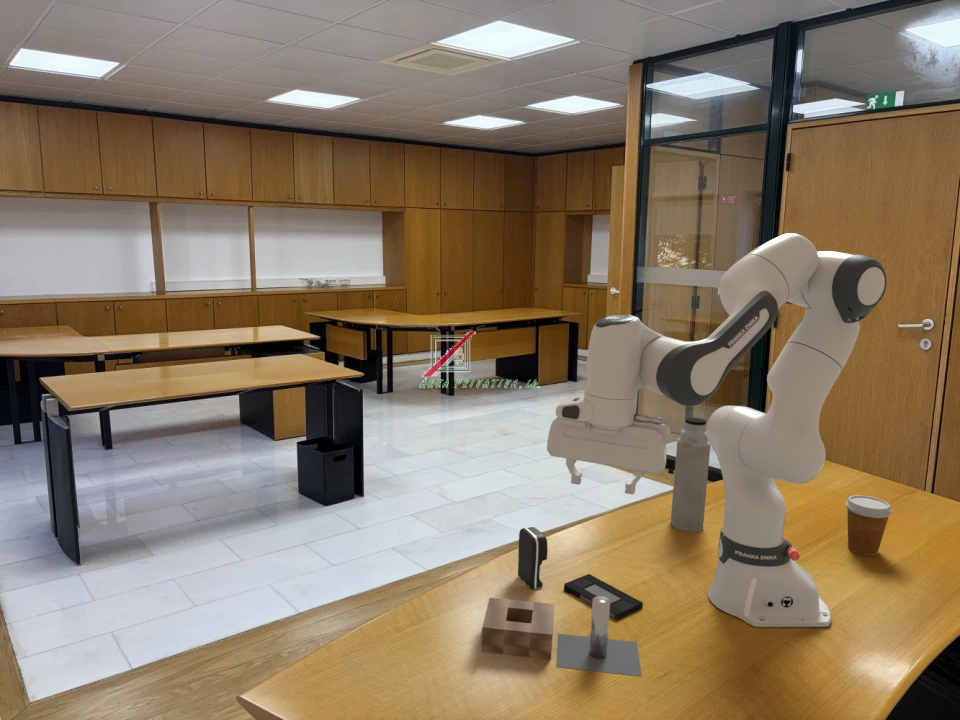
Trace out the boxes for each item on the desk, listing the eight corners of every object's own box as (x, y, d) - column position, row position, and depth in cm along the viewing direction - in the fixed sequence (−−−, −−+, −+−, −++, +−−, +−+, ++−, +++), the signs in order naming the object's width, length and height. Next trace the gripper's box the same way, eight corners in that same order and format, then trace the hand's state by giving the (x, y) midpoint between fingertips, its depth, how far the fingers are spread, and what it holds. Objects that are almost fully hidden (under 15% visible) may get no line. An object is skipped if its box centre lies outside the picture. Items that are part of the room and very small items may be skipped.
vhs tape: (616, 624, 131) (617, 614, 130) (563, 593, 142) (563, 584, 141) (642, 612, 135) (642, 602, 135) (588, 582, 146) (588, 573, 146)
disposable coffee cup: (842, 553, 162) (848, 505, 160) (838, 538, 171) (844, 492, 169) (888, 561, 159) (895, 512, 156) (882, 545, 167) (888, 498, 165)
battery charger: (548, 588, 142) (550, 536, 140) (531, 591, 141) (534, 539, 139) (532, 572, 149) (534, 523, 147) (516, 575, 147) (518, 525, 145)
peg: (606, 649, 121) (609, 597, 119) (607, 660, 118) (610, 606, 116) (589, 648, 121) (592, 595, 119) (589, 658, 118) (592, 604, 116)
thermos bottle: (675, 516, 181) (684, 413, 176) (706, 523, 177) (716, 418, 172) (666, 526, 175) (675, 419, 170) (698, 534, 170) (707, 425, 166)
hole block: (553, 629, 127) (554, 604, 127) (550, 661, 118) (552, 634, 117) (488, 622, 129) (489, 597, 128) (481, 653, 119) (482, 627, 118)
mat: (636, 643, 124) (636, 641, 123) (641, 678, 114) (641, 676, 114) (558, 635, 125) (558, 633, 125) (556, 669, 116) (556, 666, 116)
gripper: (674, 415, 116) (666, 493, 119) (557, 399, 124) (551, 472, 126) (669, 423, 111) (661, 505, 113) (547, 406, 118) (541, 483, 120)
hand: (602, 488), depth 120 cm, fingers open, 8 cm apart
